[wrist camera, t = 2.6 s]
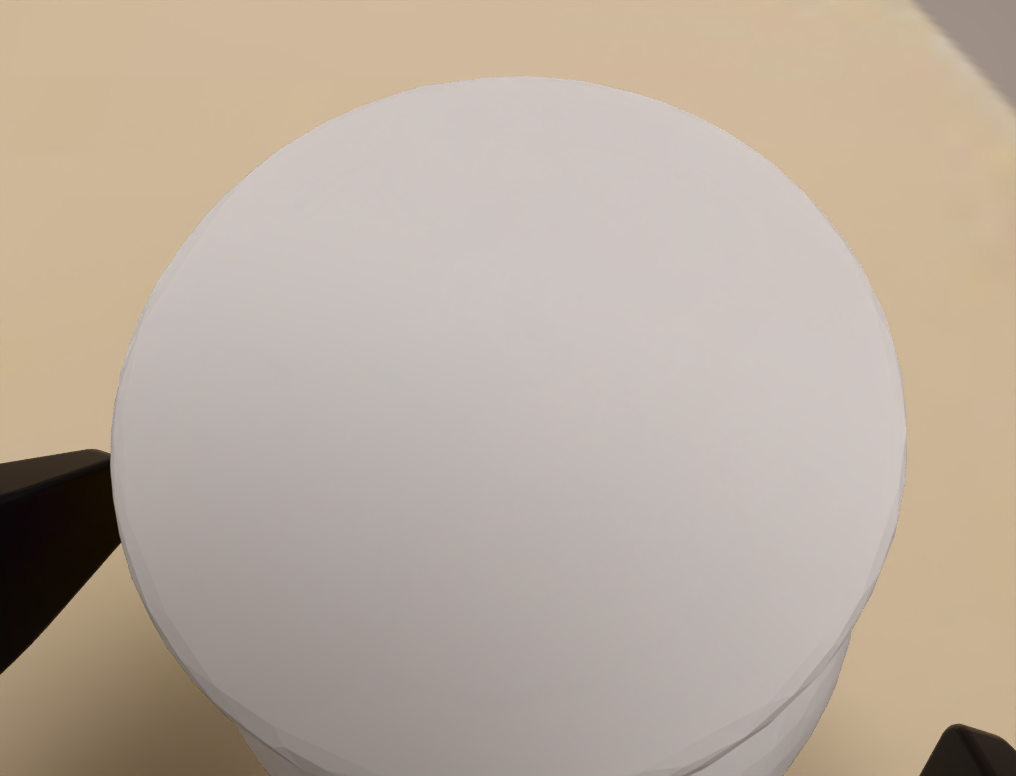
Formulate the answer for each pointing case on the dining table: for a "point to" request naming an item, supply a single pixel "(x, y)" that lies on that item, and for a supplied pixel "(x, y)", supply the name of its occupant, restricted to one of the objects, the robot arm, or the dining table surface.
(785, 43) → the dining table surface
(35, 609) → the robot arm
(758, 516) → the supplement bottle
